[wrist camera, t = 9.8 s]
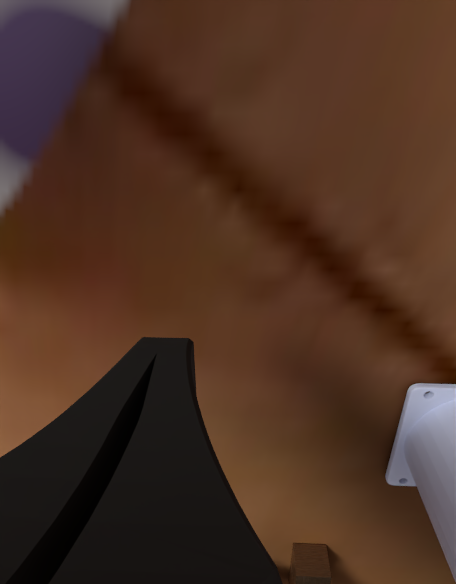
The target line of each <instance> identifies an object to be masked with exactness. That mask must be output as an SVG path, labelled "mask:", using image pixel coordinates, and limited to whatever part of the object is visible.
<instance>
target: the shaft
mask: <svg viewBox="0 0 456 584" xmlns="http://www.w3.org/2000/svg"><path fill="white" fill-rule="evenodd" d="M331 578H332V577H331V571H330V565H329V559H328V553H327V547H326V545H322V544H298V543H293V549H292V558H291V566H290V575H289V584H330V583H331Z"/></svg>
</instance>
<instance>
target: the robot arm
mask: <svg viewBox="0 0 456 584" xmlns="http://www.w3.org/2000/svg"><path fill="white" fill-rule="evenodd" d="M428 391H430V392H429V393H427V394H425V393H426V392H428ZM385 478H386V481H387V483H388V484H390V485H394V486H417V489H418V491H419V494H420V496H421V498H422V501H423V503H424V506H425V508H426V511H427V513H428V516H429V518H430V521H431V523H432V526H433V528H434V530H435V533H436V535H437V538H438V540H439V543H440V545H441V548H442V550H443V553H444V555H445V558H446V560H447V562H448V565H449V567H450V570H451V572H452V575H453V577H454V580H455V582H456V384H424V383H418V384H414V385H411V386H410V387H409V389H408V391H407V395H406V399H405V402H404V406H403V410H402V414H401V418H400V421H399V425H398V429H397V433H396V437H395V441H394V444H393V448H392V452H391V456H390V460H389V463H388V467H387V471H386V475H385ZM0 584H282V581H281V578H280V575H279V572H278V569H277V567H276V565H275V563H274V562H273V560H272V559H271V557H270V556H269V554H268V552H267V551H266V549H265V548H264V546H263V544H262V543H261V541H260V540H259V538H258V536H257V535H256V533H255V531H254V530H253V528H252V526H251V524H250V523H249V521H248V519H247V517H246V515H245V514H244V512H243V510H242V508H241V506H240V505H239V503H238V501H237V499H236V497H235V495H234V493H233V491H232V489H231V487H230V485H229V483H228V481H227V478H226V476H225V474H224V472H223V470H222V468H221V466H220V464H219V461H218V459H217V456H216V454H215V452H214V449H213V447H212V444H211V441H210V439H209V436H208V433H207V431H206V428H205V425H204V422H203V418H202V415H201V412H200V408H199V405H198V401H197V397H196V381H195V362H194V344H193V341H191V340H190V339H189V338H151V337H143V338H142V339H140V340H139V341H138V342H137V343H136V344H135V345H134V346H133V347H132V348H131V349H130V350H129V351H128V352H127V353H126V354H125V356H124V357H123V358H122V359H121V360H120V361H119V362H118V363H117V364H116V365H115V366H114V367H113V368H112V369H111V370H110V371H109V372H108V373H107V374H106V375H104V376H103V377H102V378H101V379H100V380H99V381H98V382H97V383H96V384H95V385H94V386H93V387H92V388H91V389H90V390H89V391H88V392H87V393H85V394H84V395H83V396H82V397H81V398H80V399H79V400H77V401H76V402H75V403H74V404H73V405H72V406H70V407H69V408H68V409H67V410H66V411H65V412H64V413H62V414H61V415H60V416H59V417H57V418H56V419H55V420H54V421H52V422H51V423H50V424H48V425H47V426H46V427H44V428H43V429H42V430H40V431H39V432H37V433H36V434H35V435H33V436H32V437H31V438H29V439H28V440H26V441H25V442H24V443H22V444H21V445H19V446H18V447H16V448H15V449H13V450H11V451H10V452H8V453H7V454H5V455H4V456H2V457H1V458H0Z"/></svg>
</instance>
